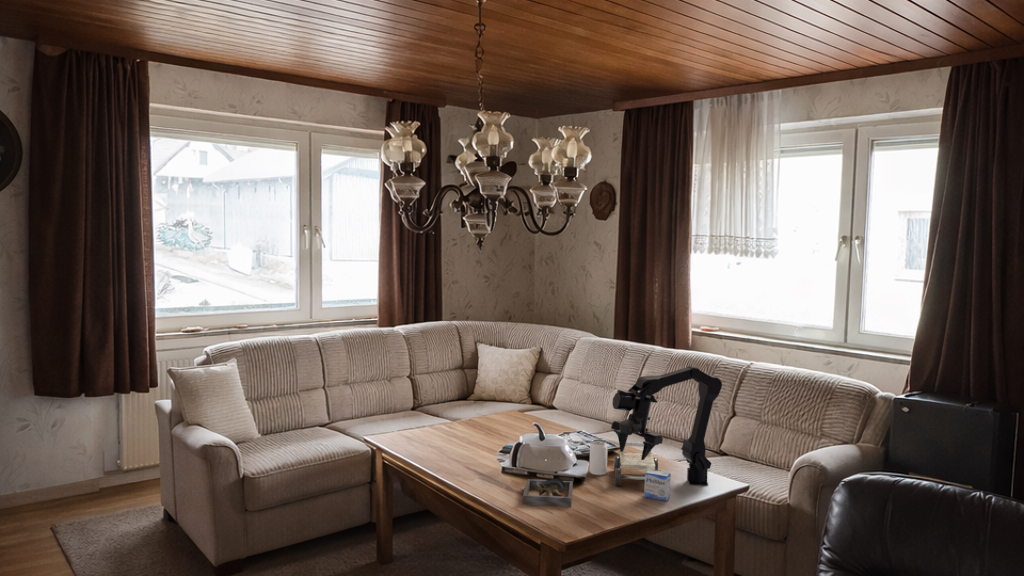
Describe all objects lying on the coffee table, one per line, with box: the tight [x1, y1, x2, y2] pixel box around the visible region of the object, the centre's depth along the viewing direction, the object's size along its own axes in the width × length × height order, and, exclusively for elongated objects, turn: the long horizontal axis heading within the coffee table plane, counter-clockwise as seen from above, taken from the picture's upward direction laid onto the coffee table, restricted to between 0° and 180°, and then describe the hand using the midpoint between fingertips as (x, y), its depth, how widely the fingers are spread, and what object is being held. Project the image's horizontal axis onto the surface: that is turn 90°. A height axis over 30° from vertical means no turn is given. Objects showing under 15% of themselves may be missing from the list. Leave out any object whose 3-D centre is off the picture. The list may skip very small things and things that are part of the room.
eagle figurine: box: [536, 478, 566, 497], centre depth 244 cm, size 8×7×9 cm
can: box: [589, 439, 608, 477], centre depth 268 cm, size 6×6×12 cm
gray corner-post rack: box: [613, 441, 662, 487], centre depth 261 cm, size 16×20×12 cm
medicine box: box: [643, 470, 672, 502], centre depth 244 cm, size 8×4×9 cm, turn 62°
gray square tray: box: [522, 478, 574, 508], centre depth 243 cm, size 16×16×3 cm
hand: (631, 455), depth 252 cm, fingers open, 9 cm apart
